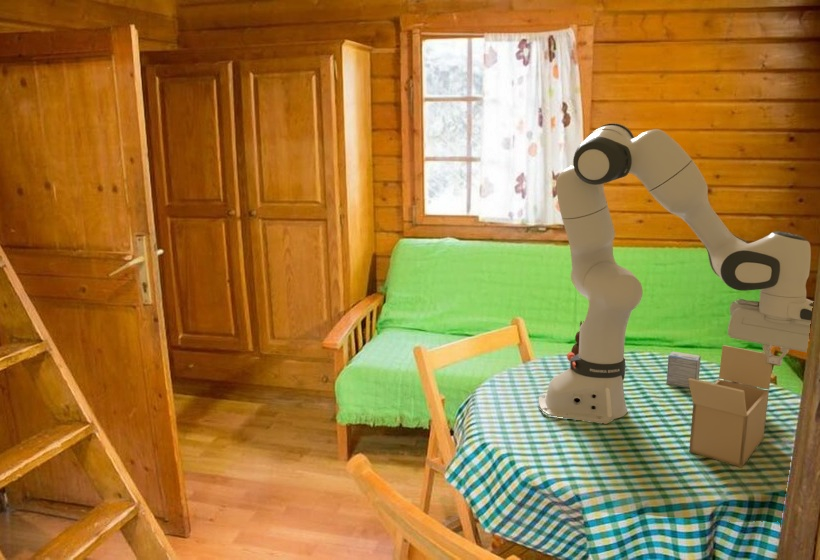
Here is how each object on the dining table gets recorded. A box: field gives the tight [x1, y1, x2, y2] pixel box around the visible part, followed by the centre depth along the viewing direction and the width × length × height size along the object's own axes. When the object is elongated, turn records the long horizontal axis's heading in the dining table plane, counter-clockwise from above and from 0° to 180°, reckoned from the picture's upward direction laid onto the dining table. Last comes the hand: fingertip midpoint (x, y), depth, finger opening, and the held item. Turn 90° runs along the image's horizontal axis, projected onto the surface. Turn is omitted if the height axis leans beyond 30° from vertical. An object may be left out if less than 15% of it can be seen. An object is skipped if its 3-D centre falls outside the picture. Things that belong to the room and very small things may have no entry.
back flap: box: [718, 344, 774, 390], centre depth 151 cm, size 11×8×1 cm
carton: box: [688, 378, 770, 468], centre depth 147 cm, size 11×17×12 cm, turn 138°
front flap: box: [688, 378, 747, 417], centre depth 137 cm, size 11×8×1 cm
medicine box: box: [666, 351, 701, 389], centre depth 182 cm, size 8×4×9 cm, turn 58°
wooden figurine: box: [570, 320, 585, 355], centre depth 196 cm, size 7×6×15 cm
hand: (773, 364), depth 146 cm, fingers closed
